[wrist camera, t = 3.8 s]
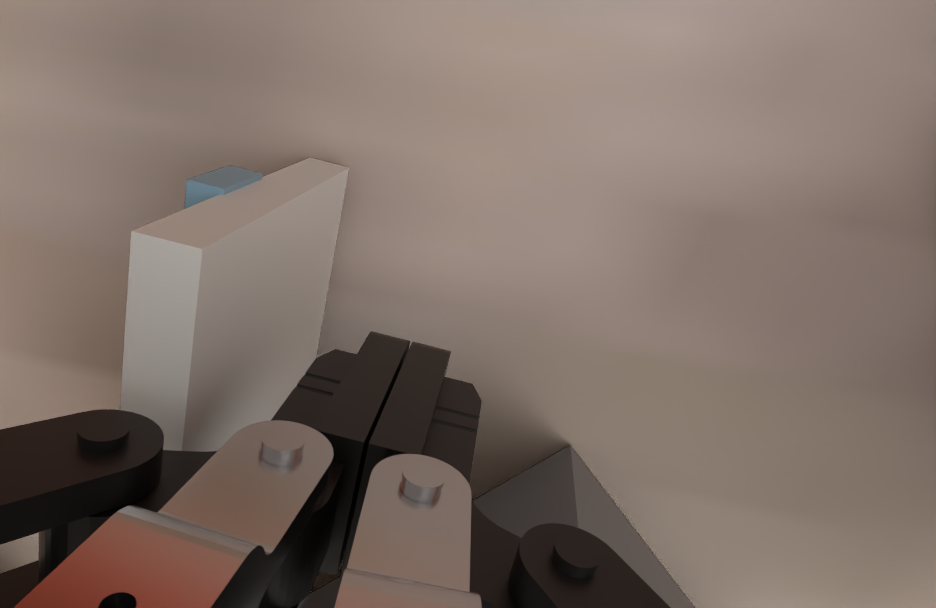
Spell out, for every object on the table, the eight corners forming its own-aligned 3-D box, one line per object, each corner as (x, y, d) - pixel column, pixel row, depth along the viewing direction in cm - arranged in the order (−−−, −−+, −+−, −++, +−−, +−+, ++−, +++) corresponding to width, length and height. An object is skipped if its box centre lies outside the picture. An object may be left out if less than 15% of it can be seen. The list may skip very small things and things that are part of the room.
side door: (352, 163, 15) (199, 246, 8) (272, 617, 19) (132, 913, 13) (286, 146, 15) (77, 215, 8) (222, 604, 19) (54, 893, 13)
